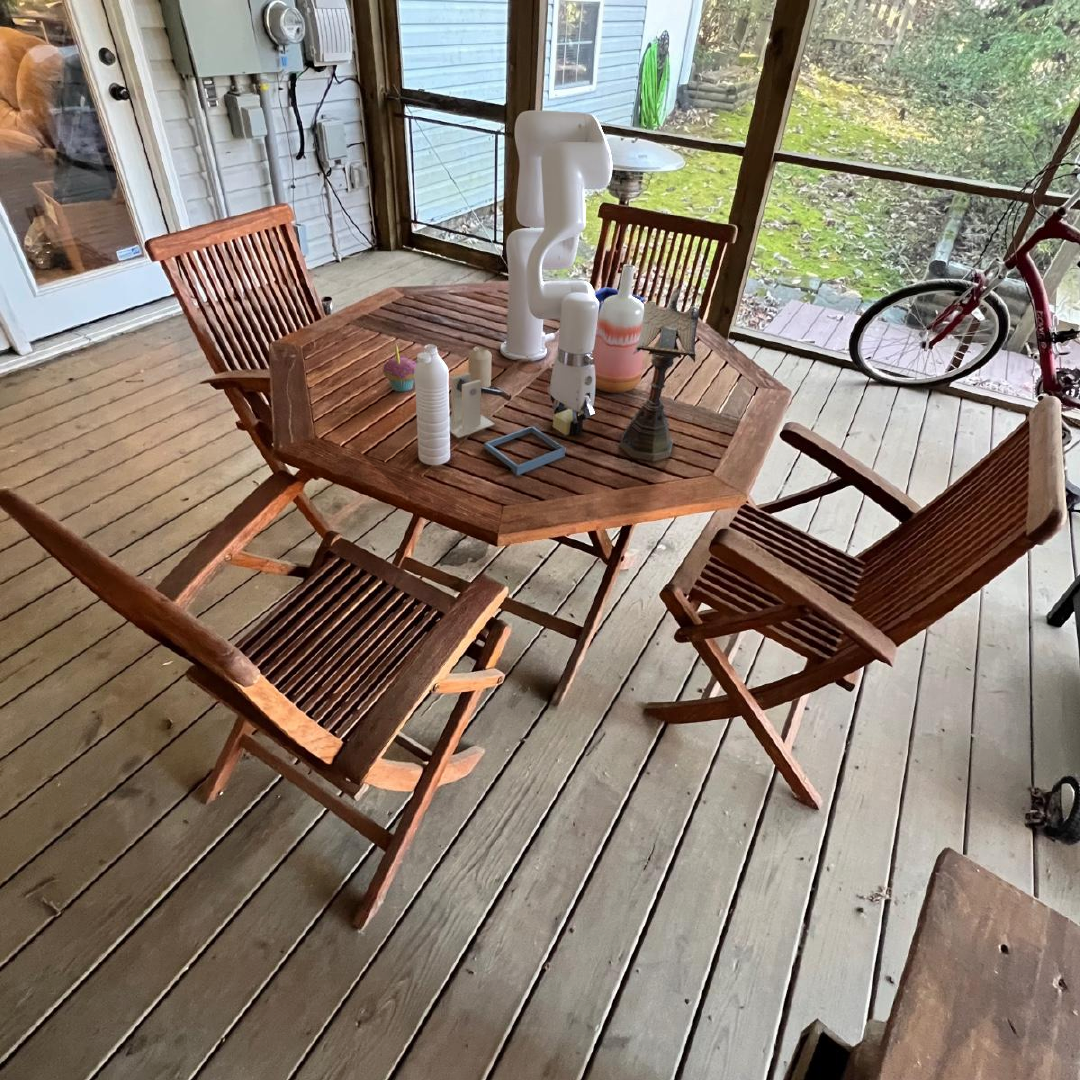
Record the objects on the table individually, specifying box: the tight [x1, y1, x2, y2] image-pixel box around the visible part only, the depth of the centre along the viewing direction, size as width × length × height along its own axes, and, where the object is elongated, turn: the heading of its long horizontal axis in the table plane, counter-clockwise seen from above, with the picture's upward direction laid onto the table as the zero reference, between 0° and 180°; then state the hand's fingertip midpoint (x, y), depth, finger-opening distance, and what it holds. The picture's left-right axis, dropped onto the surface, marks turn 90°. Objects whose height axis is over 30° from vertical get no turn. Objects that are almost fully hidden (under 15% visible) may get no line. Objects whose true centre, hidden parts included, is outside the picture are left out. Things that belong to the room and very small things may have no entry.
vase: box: [593, 264, 645, 394], centre depth 166 cm, size 14×14×30 cm
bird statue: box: [619, 288, 700, 462], centre depth 140 cm, size 17×13×35 cm
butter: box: [552, 408, 580, 436], centre depth 154 cm, size 5×4×4 cm
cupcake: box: [382, 343, 417, 393], centre depth 163 cm, size 9×8×12 cm
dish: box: [483, 425, 567, 476], centre depth 146 cm, size 13×11×2 cm
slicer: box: [449, 371, 496, 439], centre depth 150 cm, size 10×8×12 cm
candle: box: [468, 346, 493, 388], centre depth 166 cm, size 6×6×10 cm
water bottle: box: [414, 343, 451, 466], centre depth 134 cm, size 9×6×25 cm
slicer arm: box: [457, 379, 512, 402], centre depth 151 cm, size 13×5×2 cm, turn 130°
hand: (567, 429), depth 155 cm, fingers open, 4 cm apart
